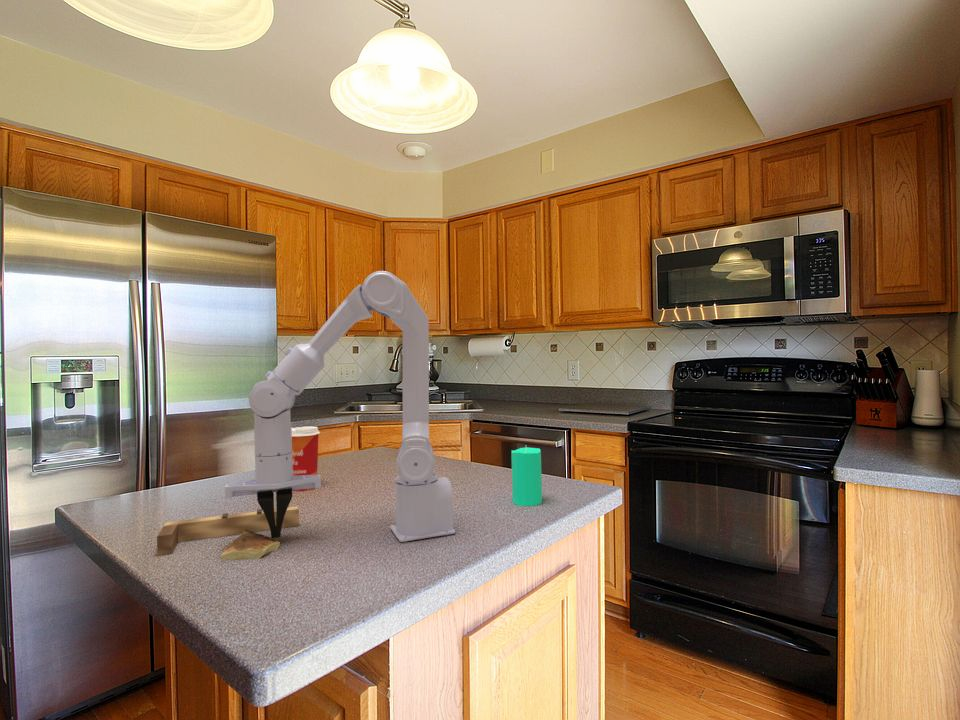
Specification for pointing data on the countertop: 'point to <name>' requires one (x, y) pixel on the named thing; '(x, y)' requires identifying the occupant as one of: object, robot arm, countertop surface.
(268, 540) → the shard
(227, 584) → the countertop surface
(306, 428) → the paper cup
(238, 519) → the oak ledge
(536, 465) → the candle
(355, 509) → the countertop surface
